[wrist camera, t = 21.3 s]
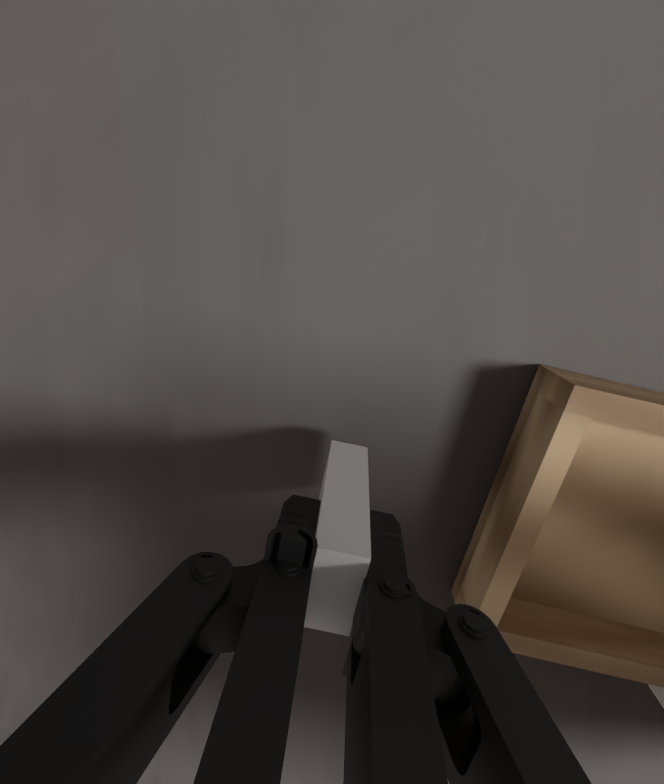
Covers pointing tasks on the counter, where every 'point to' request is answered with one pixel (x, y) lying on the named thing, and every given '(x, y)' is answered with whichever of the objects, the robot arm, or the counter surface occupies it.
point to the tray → (577, 529)
